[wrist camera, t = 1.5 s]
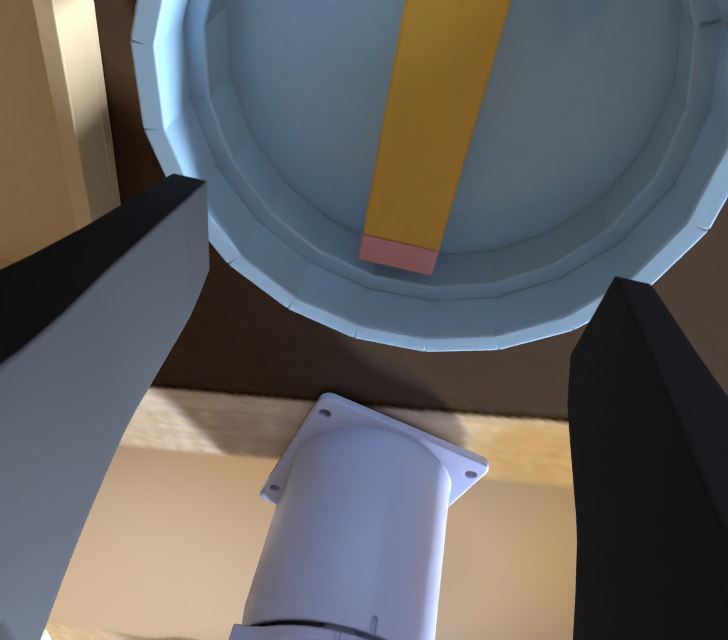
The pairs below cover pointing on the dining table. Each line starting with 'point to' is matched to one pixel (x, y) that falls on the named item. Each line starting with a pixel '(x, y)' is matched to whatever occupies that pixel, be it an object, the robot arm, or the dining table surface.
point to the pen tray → (51, 125)
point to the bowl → (481, 168)
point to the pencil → (428, 126)
